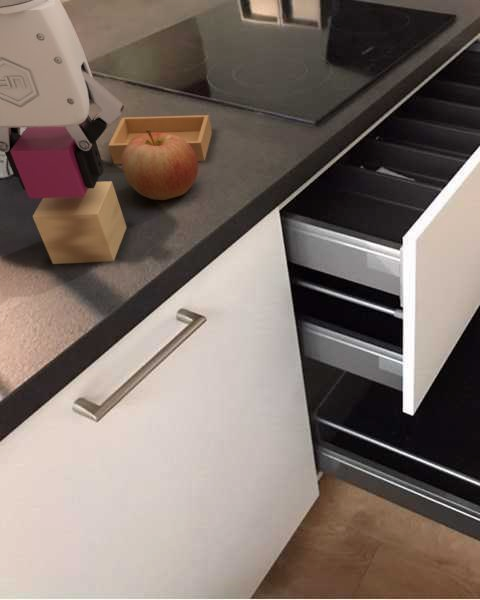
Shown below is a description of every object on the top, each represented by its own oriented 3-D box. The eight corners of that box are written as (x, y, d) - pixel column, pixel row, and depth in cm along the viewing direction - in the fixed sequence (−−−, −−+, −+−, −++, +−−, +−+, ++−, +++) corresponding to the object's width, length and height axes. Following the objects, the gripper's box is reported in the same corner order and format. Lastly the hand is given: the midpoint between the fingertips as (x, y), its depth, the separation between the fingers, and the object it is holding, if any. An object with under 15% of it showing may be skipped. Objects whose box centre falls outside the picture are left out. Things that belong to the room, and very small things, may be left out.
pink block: (28, 198, 62) (9, 151, 58) (45, 171, 65) (28, 124, 62) (84, 197, 62) (67, 150, 59) (97, 170, 66) (82, 124, 62)
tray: (114, 165, 81) (107, 145, 79) (127, 137, 86) (121, 117, 85) (205, 162, 82) (200, 142, 80) (212, 134, 87) (208, 114, 86)
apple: (116, 196, 76) (96, 133, 70) (170, 168, 81) (155, 107, 75) (162, 220, 72) (144, 155, 67) (216, 189, 77) (203, 126, 72)
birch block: (53, 265, 66) (32, 216, 62) (70, 231, 71) (51, 183, 67) (114, 263, 67) (97, 213, 63) (127, 228, 71) (112, 180, 67)
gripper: (-151, -4, 48) (-46, 205, 60) (91, -3, 49) (146, 201, 61) (-102, -34, 53) (-15, 163, 66) (114, -32, 55) (160, 160, 67)
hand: (62, 179), depth 63 cm, fingers closed on pink block, 5 cm apart
